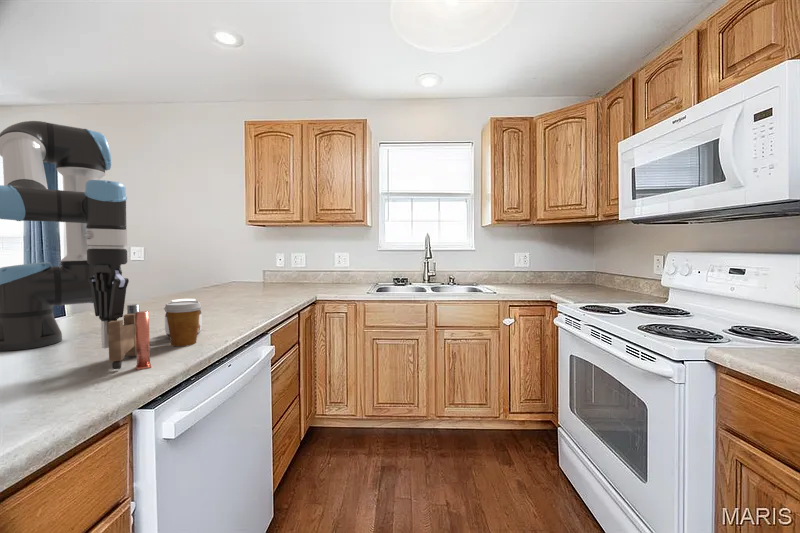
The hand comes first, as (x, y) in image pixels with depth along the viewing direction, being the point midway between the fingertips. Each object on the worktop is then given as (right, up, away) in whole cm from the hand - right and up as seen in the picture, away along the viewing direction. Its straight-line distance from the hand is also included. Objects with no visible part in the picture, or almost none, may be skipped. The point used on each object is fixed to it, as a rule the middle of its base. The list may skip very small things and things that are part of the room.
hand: (109, 346), depth 90 cm
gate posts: (+4, -4, +4) cm, 7 cm away
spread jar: (0, -3, +30) cm, 30 cm away
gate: (+3, -4, +1) cm, 5 cm away
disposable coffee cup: (+6, -4, +20) cm, 21 cm away
